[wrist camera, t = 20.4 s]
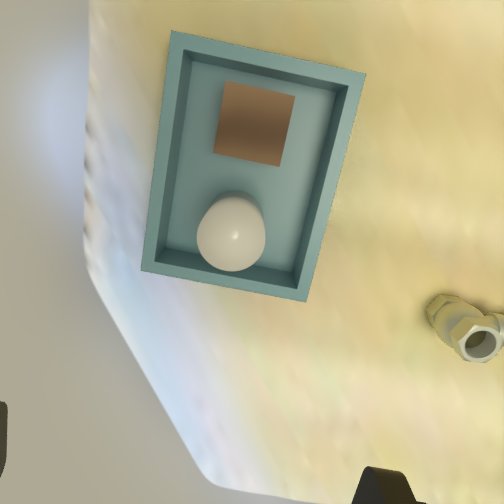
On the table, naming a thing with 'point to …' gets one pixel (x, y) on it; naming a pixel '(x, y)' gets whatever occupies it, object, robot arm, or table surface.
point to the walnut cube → (253, 123)
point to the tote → (247, 163)
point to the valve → (466, 328)
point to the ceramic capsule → (232, 231)
